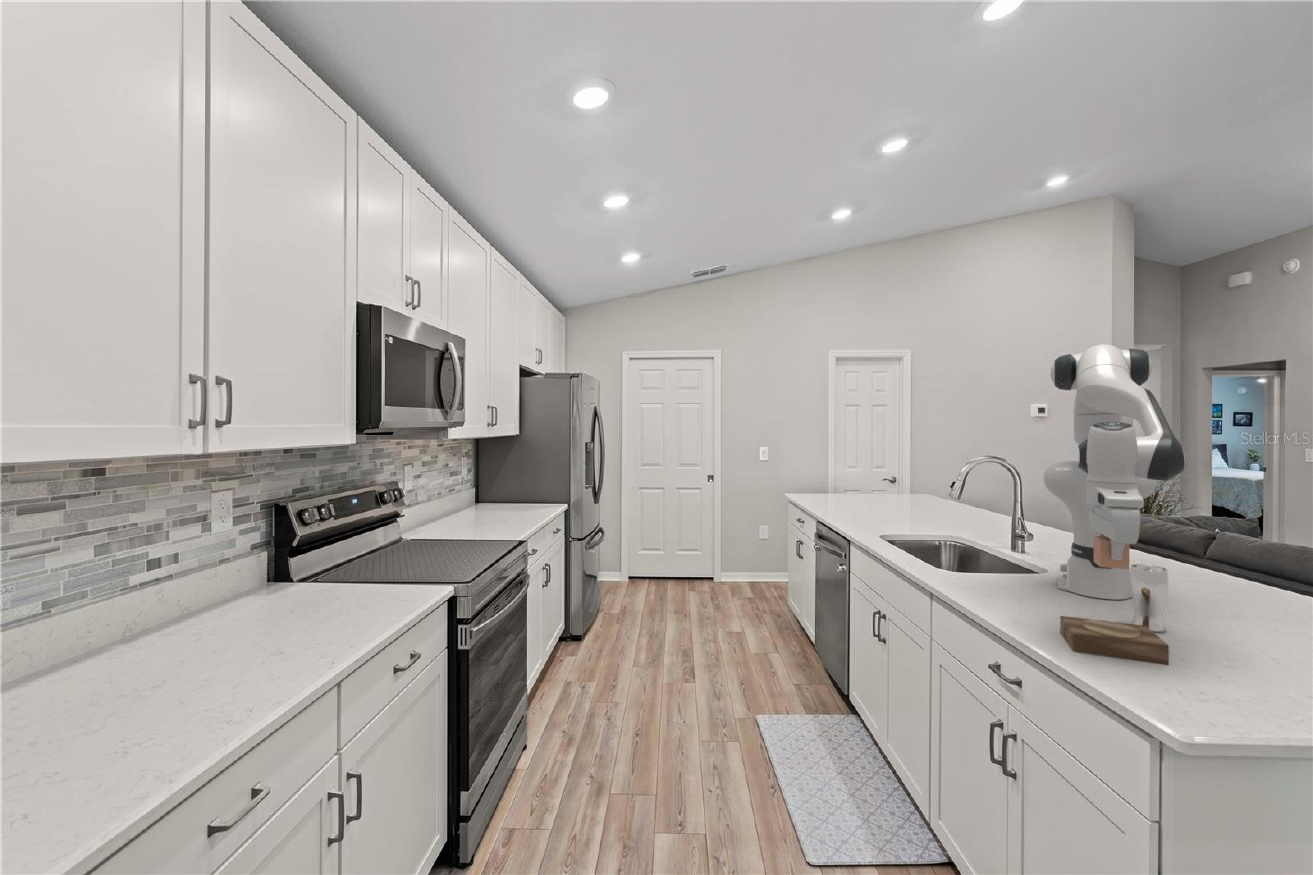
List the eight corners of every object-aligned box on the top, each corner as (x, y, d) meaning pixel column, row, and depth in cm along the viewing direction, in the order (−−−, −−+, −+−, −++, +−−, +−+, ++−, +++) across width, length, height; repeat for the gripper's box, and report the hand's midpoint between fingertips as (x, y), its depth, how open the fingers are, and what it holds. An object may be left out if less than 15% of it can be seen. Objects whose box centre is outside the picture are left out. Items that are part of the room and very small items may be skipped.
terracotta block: (1093, 561, 123) (1093, 535, 123) (1121, 564, 121) (1121, 537, 121) (1100, 566, 119) (1100, 540, 118) (1129, 569, 116) (1129, 542, 116)
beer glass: (1175, 634, 127) (1176, 571, 127) (1141, 632, 128) (1142, 570, 128) (1154, 623, 134) (1155, 564, 133) (1122, 622, 135) (1123, 563, 135)
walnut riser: (1060, 632, 129) (1060, 614, 129) (1146, 643, 122) (1146, 624, 122) (1073, 651, 118) (1073, 631, 118) (1168, 664, 111) (1168, 643, 111)
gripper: (1080, 489, 130) (1080, 545, 130) (1108, 499, 112) (1107, 565, 112) (1113, 490, 127) (1113, 547, 128) (1147, 501, 109) (1146, 568, 109)
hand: (1111, 556), depth 120 cm, fingers closed on terracotta block, 5 cm apart
